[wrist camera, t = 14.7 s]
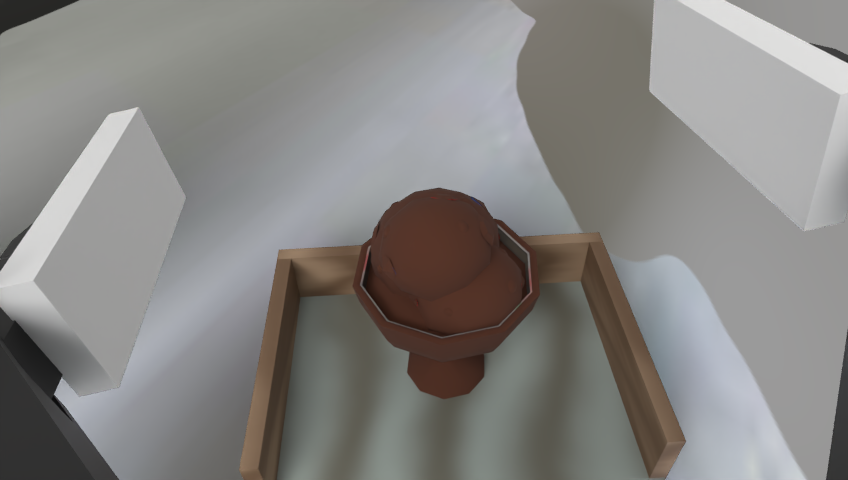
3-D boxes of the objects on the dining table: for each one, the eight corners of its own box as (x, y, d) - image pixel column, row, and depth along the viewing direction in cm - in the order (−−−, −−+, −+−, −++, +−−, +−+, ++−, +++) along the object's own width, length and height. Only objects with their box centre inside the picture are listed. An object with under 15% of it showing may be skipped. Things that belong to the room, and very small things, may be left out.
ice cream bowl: (551, 412, 38) (590, 241, 28) (381, 452, 36) (356, 284, 26) (497, 294, 46) (513, 126, 36) (355, 322, 44) (328, 153, 34)
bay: (258, 510, 35) (239, 470, 31) (290, 295, 47) (278, 249, 44) (662, 483, 35) (685, 440, 32) (588, 278, 48) (599, 232, 44)
